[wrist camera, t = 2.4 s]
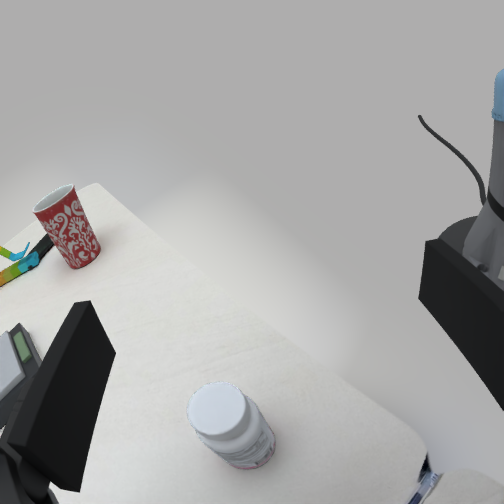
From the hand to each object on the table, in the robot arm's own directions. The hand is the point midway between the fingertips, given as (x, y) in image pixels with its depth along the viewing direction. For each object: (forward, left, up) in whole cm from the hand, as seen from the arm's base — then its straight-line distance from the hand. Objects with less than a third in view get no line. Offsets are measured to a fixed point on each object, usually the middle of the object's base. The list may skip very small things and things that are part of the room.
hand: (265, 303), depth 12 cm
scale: (+21, -37, -18) cm, 46 cm away
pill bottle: (+3, -5, -18) cm, 19 cm away
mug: (-3, -54, -18) cm, 57 cm away
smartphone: (+2, -71, -18) cm, 73 cm away
